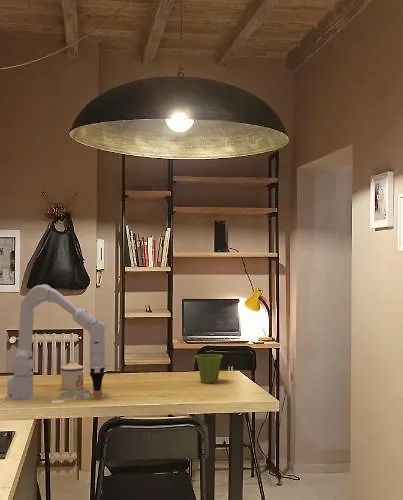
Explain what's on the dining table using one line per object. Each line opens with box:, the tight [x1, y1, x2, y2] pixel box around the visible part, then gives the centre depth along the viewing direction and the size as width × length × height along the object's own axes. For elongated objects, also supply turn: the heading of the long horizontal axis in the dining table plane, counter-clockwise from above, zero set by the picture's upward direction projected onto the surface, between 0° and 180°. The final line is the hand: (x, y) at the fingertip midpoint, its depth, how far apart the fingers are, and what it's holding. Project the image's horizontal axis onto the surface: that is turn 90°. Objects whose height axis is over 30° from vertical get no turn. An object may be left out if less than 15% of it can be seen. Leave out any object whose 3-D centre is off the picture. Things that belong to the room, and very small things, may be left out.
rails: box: [58, 389, 91, 402], centre depth 244 cm, size 12×12×2 cm
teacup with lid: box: [60, 360, 84, 392], centre depth 265 cm, size 12×9×12 cm
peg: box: [92, 382, 103, 398], centre depth 247 cm, size 4×4×7 cm
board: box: [51, 394, 105, 404], centre depth 243 cm, size 20×15×1 cm
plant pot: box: [195, 353, 224, 384], centre depth 277 cm, size 12×12×11 cm
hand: (97, 388), depth 247 cm, fingers open, 7 cm apart
